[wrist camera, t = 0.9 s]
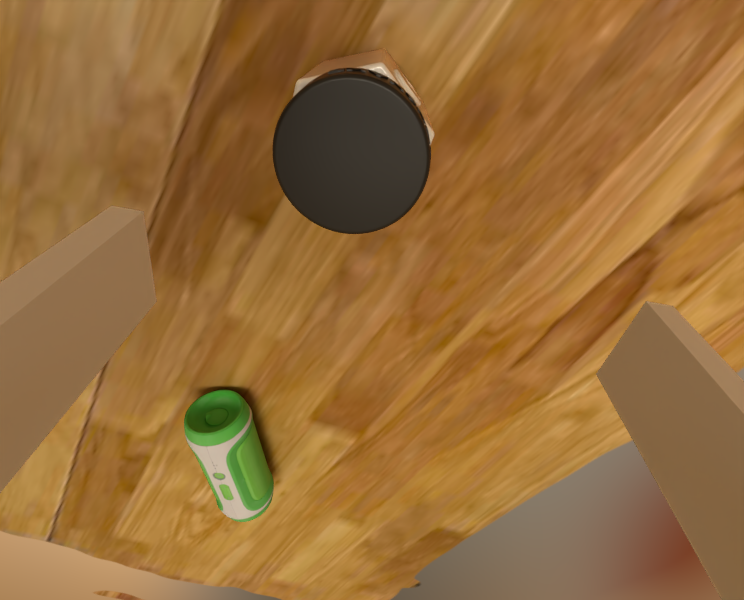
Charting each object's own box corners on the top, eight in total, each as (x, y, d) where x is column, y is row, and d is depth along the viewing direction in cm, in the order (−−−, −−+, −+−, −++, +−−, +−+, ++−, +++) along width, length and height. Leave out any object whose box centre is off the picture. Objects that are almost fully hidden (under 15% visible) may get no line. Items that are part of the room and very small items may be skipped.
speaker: (195, 384, 49) (166, 439, 43) (256, 384, 48) (236, 439, 42) (230, 472, 59) (212, 526, 53) (281, 472, 58) (269, 527, 52)
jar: (444, 125, 31) (468, 178, 21) (362, 192, 35) (351, 265, 25) (365, 15, 28) (351, 19, 18) (282, 102, 31) (232, 146, 21)
